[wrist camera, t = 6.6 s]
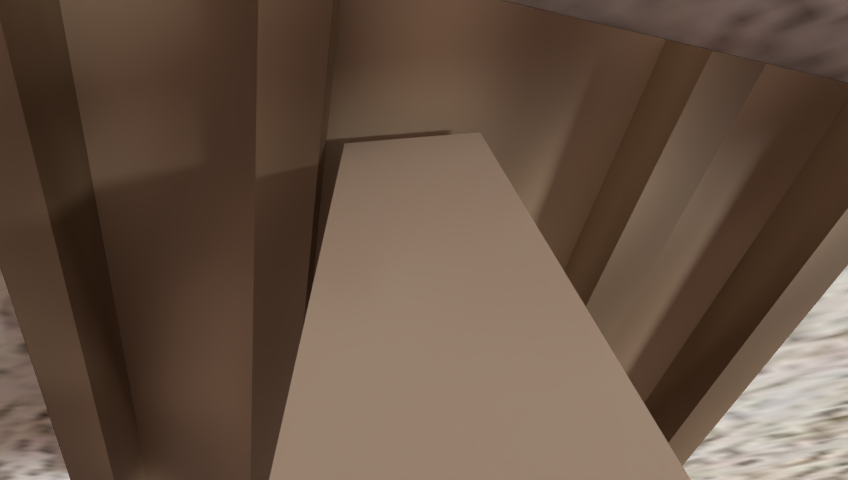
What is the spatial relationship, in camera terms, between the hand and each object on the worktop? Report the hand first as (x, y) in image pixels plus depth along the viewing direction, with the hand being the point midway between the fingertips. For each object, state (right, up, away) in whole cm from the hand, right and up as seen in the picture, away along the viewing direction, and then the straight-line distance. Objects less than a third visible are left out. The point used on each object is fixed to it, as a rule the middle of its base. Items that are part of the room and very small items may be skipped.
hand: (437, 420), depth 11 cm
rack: (0, +2, +4) cm, 4 cm away
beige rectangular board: (0, +2, +2) cm, 3 cm away
